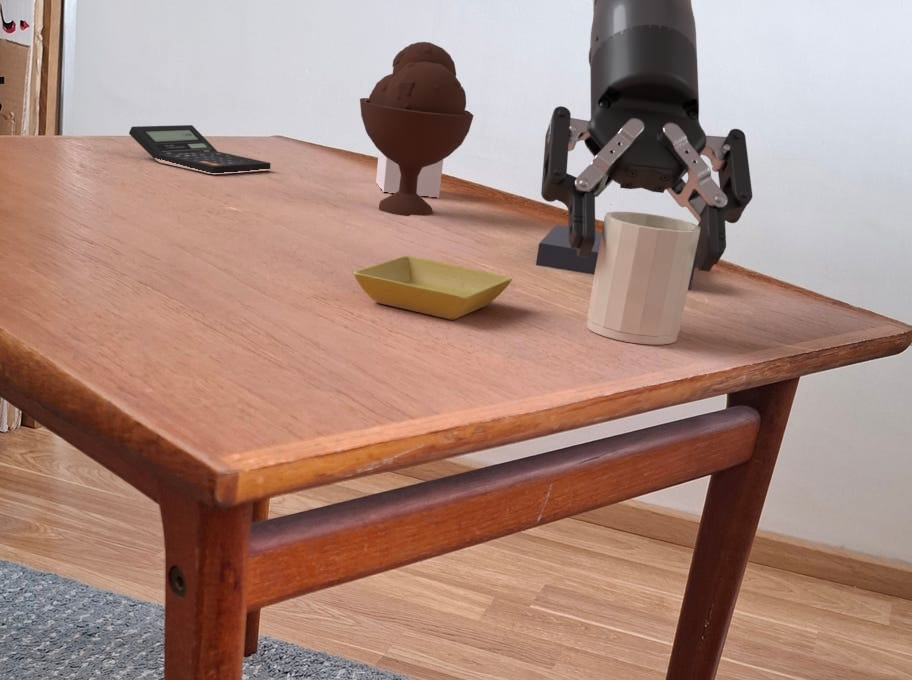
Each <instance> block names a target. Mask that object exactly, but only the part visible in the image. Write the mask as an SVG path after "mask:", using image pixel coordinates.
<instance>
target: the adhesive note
mask: <svg viewBox="0 0 912 680" xmlns="http://www.w3.org/2000/svg"><path fill="white" fill-rule="evenodd" d="M443 166H444V159H443V160H441V161H439V162H438V163H435V164H432V165H429V166H426V167H423V168H422V169H421V171H420V173H419V175H418V180H417V194H418V195H419V196H420V197H421V196H429V197H428V198H431V197H437V198H436V199H440V194H441V193H440V192H441V184H442V176H443ZM375 177H376V179H375V184H376V183H377V184H378V185H379V187H380V188H381V189H382V190H383V192H389V193H388V194H390V192H391V193H396V192H398V191H399V185H400V178H401V173H400V169H399V165H398V164H396V163H395V162H393V161H392V160H390V159H388V158H387V157H386V156H385V155H384V154H383V153H382V152H381V151H379V150H378V156H377V166H376V176H375ZM379 187H378V188H379ZM380 188H379V189H380ZM381 189H380V190H381ZM383 192H382V193H383Z"/></svg>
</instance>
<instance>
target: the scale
mask: <svg viewBox="0 0 912 680" xmlns="http://www.w3.org/2000/svg"><path fill="white" fill-rule="evenodd" d="M568 229H569V228H568V225H567V226H566V225H561V224H560V225H559V224H555V226H553V228H551V230H550V231H549V232H548V233H547V234H546V235H545V236H544V237H543V239H541V241H539V244H538V248H537V253H536V260H535V266H538V267H545V268H551V269H558V270H562V271H563V270H565V271H571V272H574V273H575V272H576V273H580V274H581V273H583V274H587V275H595V269H596V263H597V258H598V252H599V246H600V241H601V235H602V231H598V230H595V243H594V246H593V248H592V250H591V253H590V255H589V257H588V258H585V257H578V256H577V248H571V246H570V244H569V241H568V234H569V233H568ZM695 269H698V257H697V248H696V253H695V258H694V263H693V267H692V272H691V277H690V282H689V286H688V291H691V288H692V284H693V279H694V273H695Z"/></svg>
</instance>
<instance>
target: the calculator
mask: <svg viewBox="0 0 912 680" xmlns="http://www.w3.org/2000/svg"><path fill="white" fill-rule="evenodd" d="M128 135H130V136H131V138H133V139H134V141H136V143H137V144H139V146H141V147H142V148H143V149H144V150H145V151H146V153H148V155H150V157H151V158H152V159H154V158H157V159H160V160H161V159H162V160H165V161H169V162H172V163H176V164H180V165H183V166H187V167H190V168H195V169H198V170H202V171H206V172H210V173H224V172H238V171H250V170H259V169H270V170H271V162H269V161H265V160H264V161H263V160H259V159H254V158H250V157H246V156H241V155H237V154H231V153H227V152H222V151H218V150H217V149H216V148H215V147H214V145H212V144H211V143H210V142H209V141H208V140H207V139H206V138H205V137H204V135H202V133H200V131H199V130H197V128H196V127H195V126H193V125H192V124H184V125H181V124H180V125H145V126H144V125H143V126H142V125H141V126H139V125H138V126H137V125H136V126H131V127H130V129H129V132H128Z"/></svg>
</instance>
